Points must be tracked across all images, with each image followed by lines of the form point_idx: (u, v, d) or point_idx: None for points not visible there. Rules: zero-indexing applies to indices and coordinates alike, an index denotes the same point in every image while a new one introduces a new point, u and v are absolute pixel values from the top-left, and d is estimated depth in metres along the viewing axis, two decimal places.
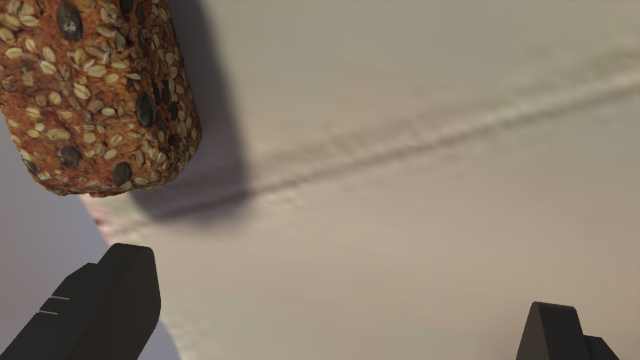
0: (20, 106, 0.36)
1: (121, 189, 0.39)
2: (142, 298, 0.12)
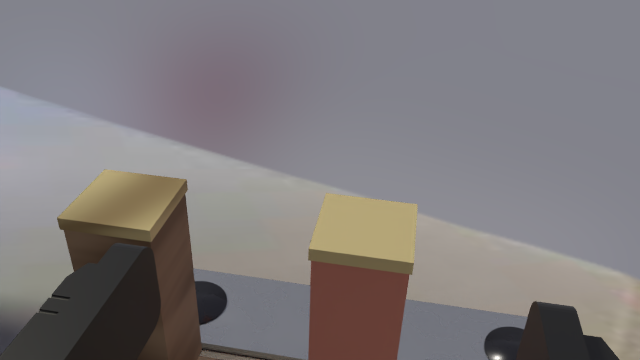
0: None
1: None
2: (142, 298, 0.12)
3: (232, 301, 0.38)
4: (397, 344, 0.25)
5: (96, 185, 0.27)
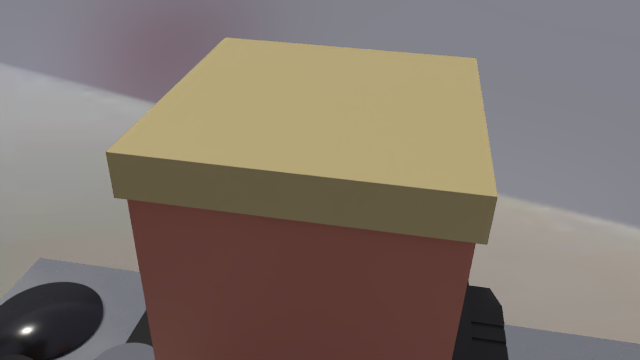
0: None
1: None
2: None
3: (111, 318, 0.21)
4: None
5: None
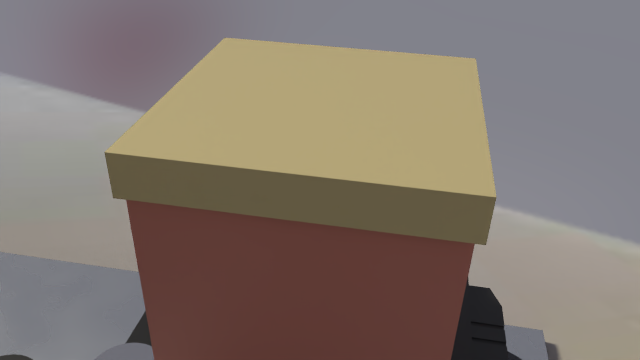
0: None
1: None
2: None
3: None
4: None
5: None
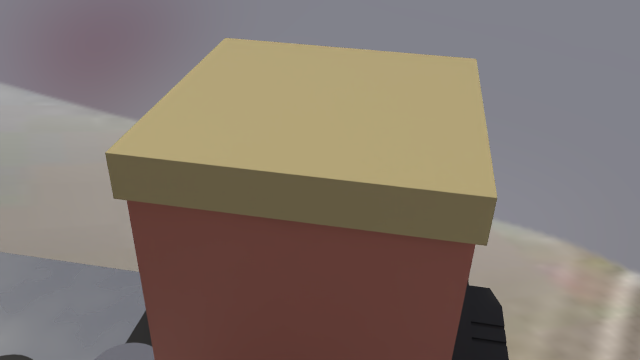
0: None
1: None
2: None
3: None
4: None
5: None
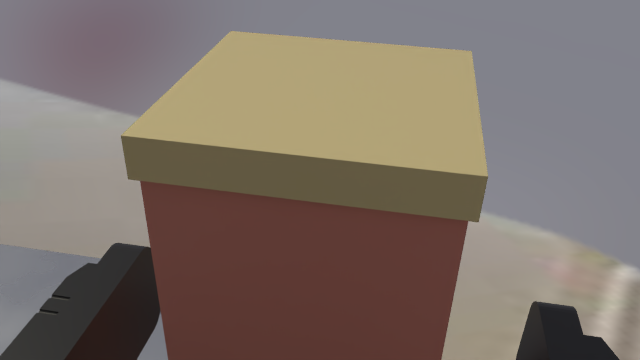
0: None
1: None
2: (142, 298, 0.12)
3: None
4: None
5: None
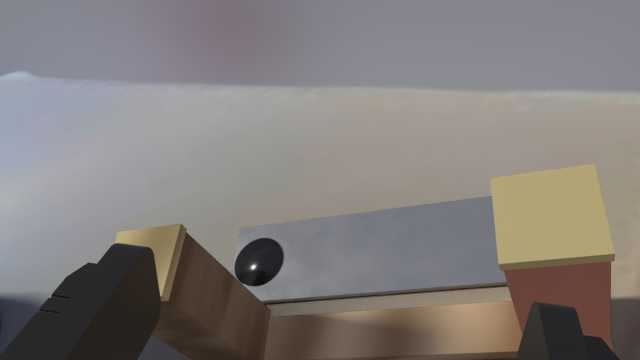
0: None
1: None
2: (142, 298, 0.12)
3: (287, 251, 0.43)
4: (608, 302, 0.25)
5: None
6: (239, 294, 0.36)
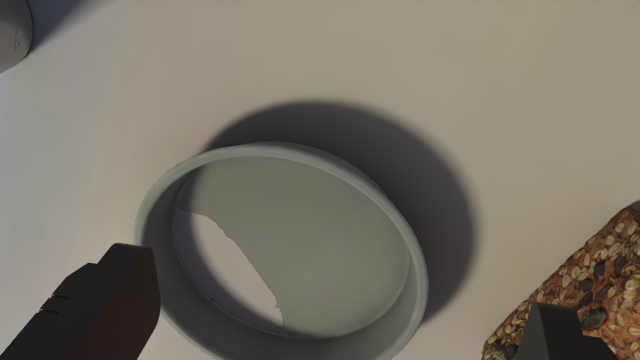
0: None
1: None
2: (141, 298, 0.12)
3: None
4: None
5: None
6: None
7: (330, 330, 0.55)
